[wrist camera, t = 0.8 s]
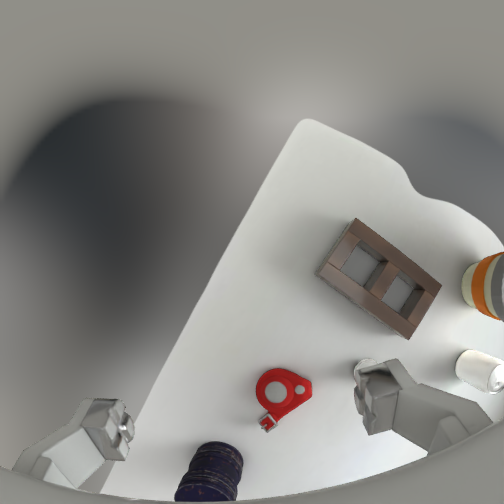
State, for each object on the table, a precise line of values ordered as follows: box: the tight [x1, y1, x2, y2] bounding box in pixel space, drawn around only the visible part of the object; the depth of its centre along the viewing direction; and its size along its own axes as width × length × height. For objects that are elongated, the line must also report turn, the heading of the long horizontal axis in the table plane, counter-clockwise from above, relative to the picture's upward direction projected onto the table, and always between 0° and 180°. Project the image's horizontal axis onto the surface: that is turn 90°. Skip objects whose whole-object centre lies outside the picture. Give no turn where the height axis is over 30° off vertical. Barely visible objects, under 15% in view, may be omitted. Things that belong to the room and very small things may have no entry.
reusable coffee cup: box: [461, 252, 504, 322], centre depth 42 cm, size 13×13×15 cm
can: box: [455, 349, 504, 394], centre depth 43 cm, size 6×6×12 cm
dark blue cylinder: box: [174, 442, 243, 502], centre depth 44 cm, size 10×10×15 cm
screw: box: [354, 359, 378, 376], centre depth 44 cm, size 13×5×5 cm
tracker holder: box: [256, 368, 312, 433], centre depth 50 cm, size 12×4×10 cm
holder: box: [315, 218, 442, 340], centre depth 49 cm, size 11×20×5 cm, turn 54°
